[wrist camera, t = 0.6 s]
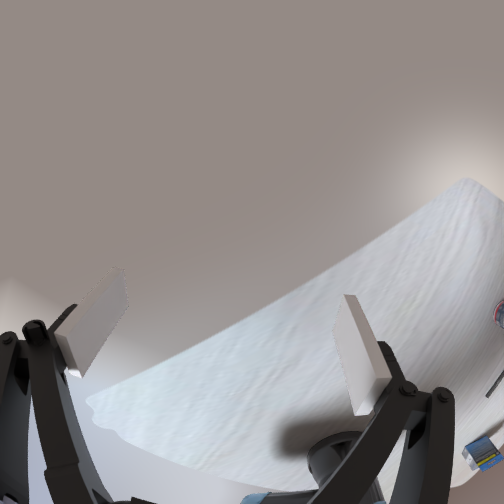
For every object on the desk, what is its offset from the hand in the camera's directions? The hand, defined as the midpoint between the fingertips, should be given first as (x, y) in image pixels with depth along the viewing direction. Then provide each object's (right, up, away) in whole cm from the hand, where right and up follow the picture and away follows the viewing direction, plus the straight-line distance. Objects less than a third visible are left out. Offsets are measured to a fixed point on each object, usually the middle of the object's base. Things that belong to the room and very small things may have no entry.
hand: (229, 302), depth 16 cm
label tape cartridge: (+65, -52, +30) cm, 89 cm away
